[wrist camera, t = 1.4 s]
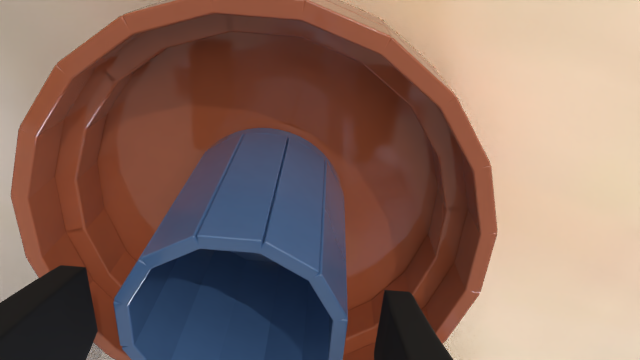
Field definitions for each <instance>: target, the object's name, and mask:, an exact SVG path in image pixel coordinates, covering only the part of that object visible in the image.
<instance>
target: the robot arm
mask: <svg viewBox="0 0 640 360" xmlns="http://www.w3.org/2000/svg"><path fill="white" fill-rule="evenodd" d="M97 332H98V329H97V323H96V318H95V313H94V307H93V302H92V297H91V291H90V286H89V281H88V275H87V270H86V267H78V266H65V265H60V266H58V267H57V268H55V269H53V270H51V271H50V272H48V273H46V274H45V275H43V276H42V277H40V278H38V279H37V280H35V281H34V282H32V283H30V284H29V285H27V286H26V287H24V288H23V289H21V290H20V291H18V292H16V293H15V294H13V295H12V296H10V297H9V298H7V299H5V300H4V301H2V302H1V303H0V360H86V358H87V355H88V353H89V351H90V349H91V346H92V344H93V341H94V339H95V337H96V334H97ZM374 360H453V359H452V357H451V356H450V354H449V353H448V351H447V350H446V348H445V347H444V346H443V344H442V343H441V341H440V339H439V338H438V336H437V335H436V333H435V332H434V330H433V328H432V327H431V325H430V324H429V322H428V320H427V319H426V317H425V315H424V314H423V312H422V310H421V309H420V307H419V305H418V303H417V302H416V300H415V298H414V296H413V295H412V294H411V293H410V292H406V291H393V290H384V295H383V301H382V307H381V313H380V319H379V325H378V331H377V337H376V342H375V348H374Z"/></svg>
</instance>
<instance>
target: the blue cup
mask: <svg viewBox="0 0 640 360" xmlns="http://www.w3.org/2000/svg"><path fill="white" fill-rule="evenodd" d="M113 305H114V311H115V317H116V323H117V329H118V336H119V342H120V346H122V350H123V351H124V352H125V353H126V354H127V355H128V356H129V357H130V359H131V360H343V355H344V348H345V340H346V332H347V325H348V303H347V271H346V240H345V208H344V195H343V191H342V188H341V184H340V180H339V177H338V175H337V173H336V170H335V169H334V167H333V165H332V164H331V162H330V161H329V160H328V158H327V157H326V156H325V155H324V154H323V153H322V152H321V151H320V150H319V149H318V148H317V147H316V146H314V145H313V144H312V143H310V142H309V141H307V140H305V139H304V138H302V137H300V136H298V135H295V134H293V133H290V132H287V131H283V130H279V129H272V128H252V129H246V130H241V131H237V132H235V133H232V134H230V135H227V136H226V137H224V138H222V139H220V140H219V141H217V142H216V143H215V144H213V145H212V146H211V147H210V148H209V149H208V150H207V151H206V152H205V153H204V154H203V156H202V157H201V159H200V161H199V162H198V164H197V165H196V167H195V169H194V170H193V172H192V173H191V175H190V177H189V178H188V180H187V181H186V183H185V185H184V186H183V188H182V190H181V191H180V193H179V194H178V196H177V198H176V199H175V201H174V202H173V204H172V206H171V207H170V209H169V210H168V212H167V214H166V215H165V217H164V218H163V220H162V222H161V223H160V225H159V226H158V228H157V230H156V231H155V233H154V235H153V236H152V238H151V239H150V241H149V243H148V244H147V246H146V247H145V249H144V251H143V252H142V254H141V255H140V257H139V259H138V260H137V262H136V263H135V265H134V267H133V268H132V270H131V272H130V273H129V275H128V276H127V278H126V280H125V281H124V283H123V285H122V286H121V288H120V289H119V291H118V293H117V294H116V296H115V297H114V302H113Z"/></svg>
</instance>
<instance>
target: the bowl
mask: <svg viewBox="0 0 640 360" xmlns="http://www.w3.org/2000/svg"><path fill="white" fill-rule="evenodd" d="M252 128H272V129H279V130H283V131H287V132H290V133H293V134H295V135H298V136H300V137H302V138H304V139H305V140H307V141H309V142H310V143H312V144H313V145H314V146H316V147H317V148H318V149H319V150H320V151H321V152H322V153H323V154H324V155H325V156H326V157H327V158H328V160H329V161H330V162H331V164H332V165H333V167H334V169H335V170H336V173H337V175H338V177H339V180H340V184H341V188H342V191H343V195H344V208H345V240H346V271H347V303H348V325H347V332H346V340H345V348H344V355H343V360H374V348H375V342H376V337H377V331H378V325H379V319H380V313H381V307H382V301H383V295H384V290H393V291H406V292H410V293H411V294H412V295H413V296H414V298H415V300H416V302H417V303H418V305H419V307H420V309H421V310H422V312H423V314H424V315H425V317H426V319H427V320H428V322H429V324H430V325H431V327H432V328H433V330H434V332H435V333H436V335H437V336H438V338H439V339H440V341H441V343H442V344H443V343H444V341H446V340H447V339H448V337H449V336H450V334H451V333H452V332H453V330H454V329H455V327H456V326H457V325H458V323H459V322H460V321H461V319H462V318H463V316H464V315H465V314H466V312H467V311H468V309H469V308H470V307H471V305H472V304H473V303H474V301H475V300H476V298H477V297H478V296H479V293H480V292H481V288H482V285H483V281H484V278H485V274H486V271H487V268H488V264H489V261H490V257H491V254H492V250H493V247H494V243H495V240H496V236H497V222H496V211H495V201H494V190H493V180H492V169H491V165H490V161H489V159H488V157H487V155H486V153H485V151H484V149H483V147H482V145H481V144H480V142H479V140H478V138H477V136H476V134H475V132H474V130H473V128H472V126H471V124H470V122H469V120H468V118H467V116H466V114H465V112H464V110H463V108H462V106H461V104H460V102H459V100H458V98H457V97H456V95H455V94H454V93H453V91H452V90H451V89H450V88H449V86H448V85H447V84H446V82H445V81H444V80H443V79H442V77H441V76H440V75H439V73H438V72H437V71H436V69H435V68H434V67H433V66H432V65H431V64H430V63H429V62H428V61H427V60H426V59H425V58H423V57H422V56H421V55H420V54H419V53H418V52H417V51H416V50H415V49H414V48H413V47H412V46H411V45H409V44H408V43H407V42H406V41H405V40H404V39H403V38H402V37H401V36H400V35H399V34H398V33H397V32H395V31H394V30H393V29H392V28H391V27H390V26H389V25H388V24H387V23H386V22H385V21H384V20H381V19H380V18H379V17H376V16H374V15H372V14H370V13H367V12H365V11H363V10H361V9H358V8H356V7H354V6H351V5H349V4H347V3H345V2H342V1H340V0H164V1H161V2H158V3H155V4H152V5H149V6H146V7H143V8H140V9H137V10H135V11H132V12H129V13H126V14H124V15H122V16H119V17H118V18H117V19H115V20H114V21H113V22H111V23H110V24H109V25H107V26H106V27H105V28H103V29H102V30H101V31H99V32H98V33H97V34H95V35H94V36H93V37H91V38H90V39H89V40H87V41H86V42H84V43H83V44H82V45H80V46H79V47H78V48H76V49H75V50H74V51H72V52H71V53H70V54H68V55H67V56H66V57H64V58H63V59H62V60H60V61H59V62H58V63H57V65H55V66H54V68H53V70H52V71H51V73H50V75H49V77H48V78H47V80H46V82H45V84H44V85H43V87H42V89H41V90H40V92H39V94H38V96H37V97H36V99H35V101H34V102H33V104H32V106H31V108H30V109H29V111H28V113H27V115H26V116H25V118H24V120H23V121H22V123H21V125H20V128H19V130H18V138H17V147H16V155H15V163H14V171H13V180H12V188H11V200H12V203H13V207H14V211H15V215H16V219H17V223H18V227H19V231H20V235H21V239H22V243H23V247H24V251H25V255H26V258H28V262H29V263H30V265H31V266H32V268H33V269H34V271H35V273H36V274H37V276H38V277H39V278H40V277H42V276H43V275H45V274H46V273H48V272H50V271H51V270H53V269H55V268H57V267H58V266H60V265H65V266H78V267H86V270H87V275H88V281H89V286H90V291H91V297H92V302H93V307H94V313H95V318H96V323H97V329H98V332H97V334H96V337H95V339H94V341H93V342H94V343H95V344H96V345H97V346H98V347H99V348H100V349H101V350H102V351H104V352H105V353H106V354H107V355H109V356H110V357H112V358H113V359H115V360H131V359H130V357H129V356H128V355H127V354H126V353H125V352H124V351H123V350H122V346H120V342H119V336H118V329H117V323H116V317H115V311H114V305H113V302H114V297H115V296H116V294H117V293H118V291H119V289H120V288H121V286H122V285H123V283H124V281H125V280H126V278H127V276H128V275H129V273H130V272H131V270H132V268H133V267H134V265H135V263H136V262H137V260H138V259H139V257H140V255H141V254H142V252H143V251H144V249H145V247H146V246H147V244H148V243H149V241H150V239H151V238H152V236H153V235H154V233H155V231H156V230H157V228H158V226H159V225H160V223H161V222H162V220H163V218H164V217H165V215H166V214H167V212H168V210H169V209H170V207H171V206H172V204H173V202H174V201H175V199H176V198H177V196H178V194H179V193H180V191H181V190H182V188H183V186H184V185H185V183H186V181H187V180H188V178H189V177H190V175H191V173H192V172H193V170H194V169H195V167H196V165H197V164H198V162H199V161H200V159H201V157H202V156H203V154H204V153H205V152H206V151H207V150H208V149H209V148H210V147H211V146H212V145H213V144H215V143H216V142H217V141H219V140H220V139H222V138H224V137H226V136H227V135H230V134H232V133H235V132H237V131H241V130H246V129H252Z"/></svg>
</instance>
